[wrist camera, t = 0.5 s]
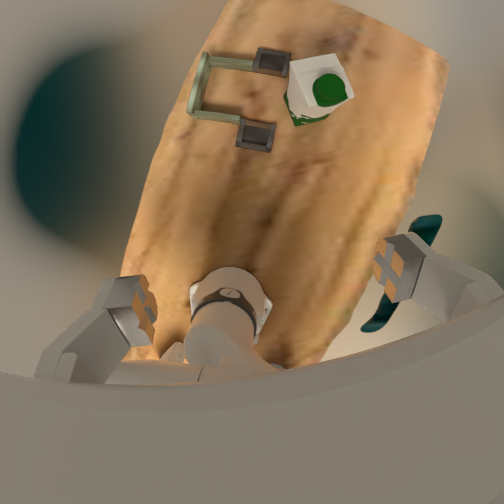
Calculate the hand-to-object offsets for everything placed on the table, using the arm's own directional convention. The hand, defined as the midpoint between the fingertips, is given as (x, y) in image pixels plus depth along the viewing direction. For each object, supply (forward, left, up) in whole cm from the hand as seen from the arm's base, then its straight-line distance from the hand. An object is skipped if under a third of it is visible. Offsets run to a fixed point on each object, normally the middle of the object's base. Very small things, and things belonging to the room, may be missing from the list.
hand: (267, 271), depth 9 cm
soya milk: (+20, -5, -48) cm, 52 cm away
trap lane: (+20, +9, -47) cm, 52 cm away
